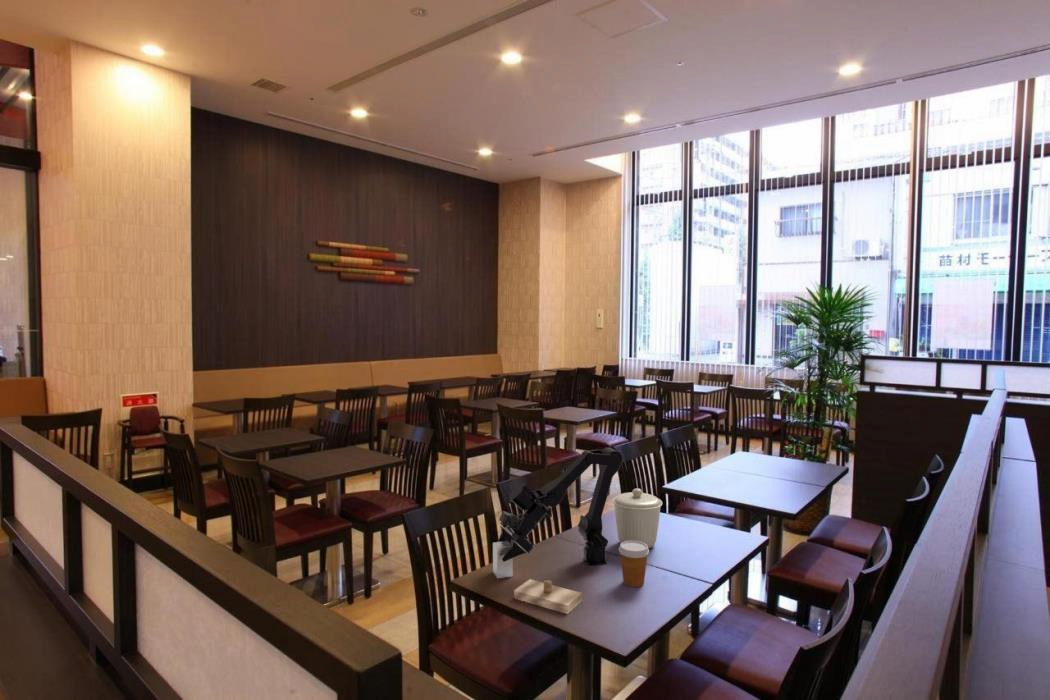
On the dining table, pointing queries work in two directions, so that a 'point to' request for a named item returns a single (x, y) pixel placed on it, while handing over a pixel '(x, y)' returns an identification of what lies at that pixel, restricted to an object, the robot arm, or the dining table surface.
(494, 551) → the white rectangular block
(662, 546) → the dining table surface
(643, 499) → the canister
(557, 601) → the birch block
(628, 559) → the disposable coffee cup
